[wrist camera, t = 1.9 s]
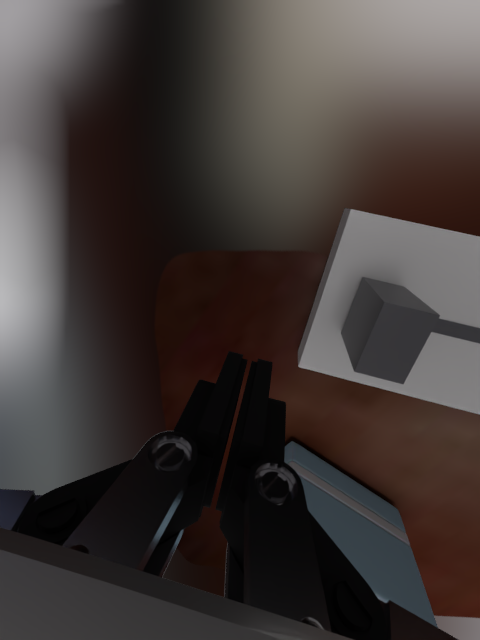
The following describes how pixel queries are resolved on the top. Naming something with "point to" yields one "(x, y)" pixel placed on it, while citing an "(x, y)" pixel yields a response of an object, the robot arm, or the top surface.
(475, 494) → the top surface
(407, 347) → the fader knob
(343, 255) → the panel
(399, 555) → the radio
